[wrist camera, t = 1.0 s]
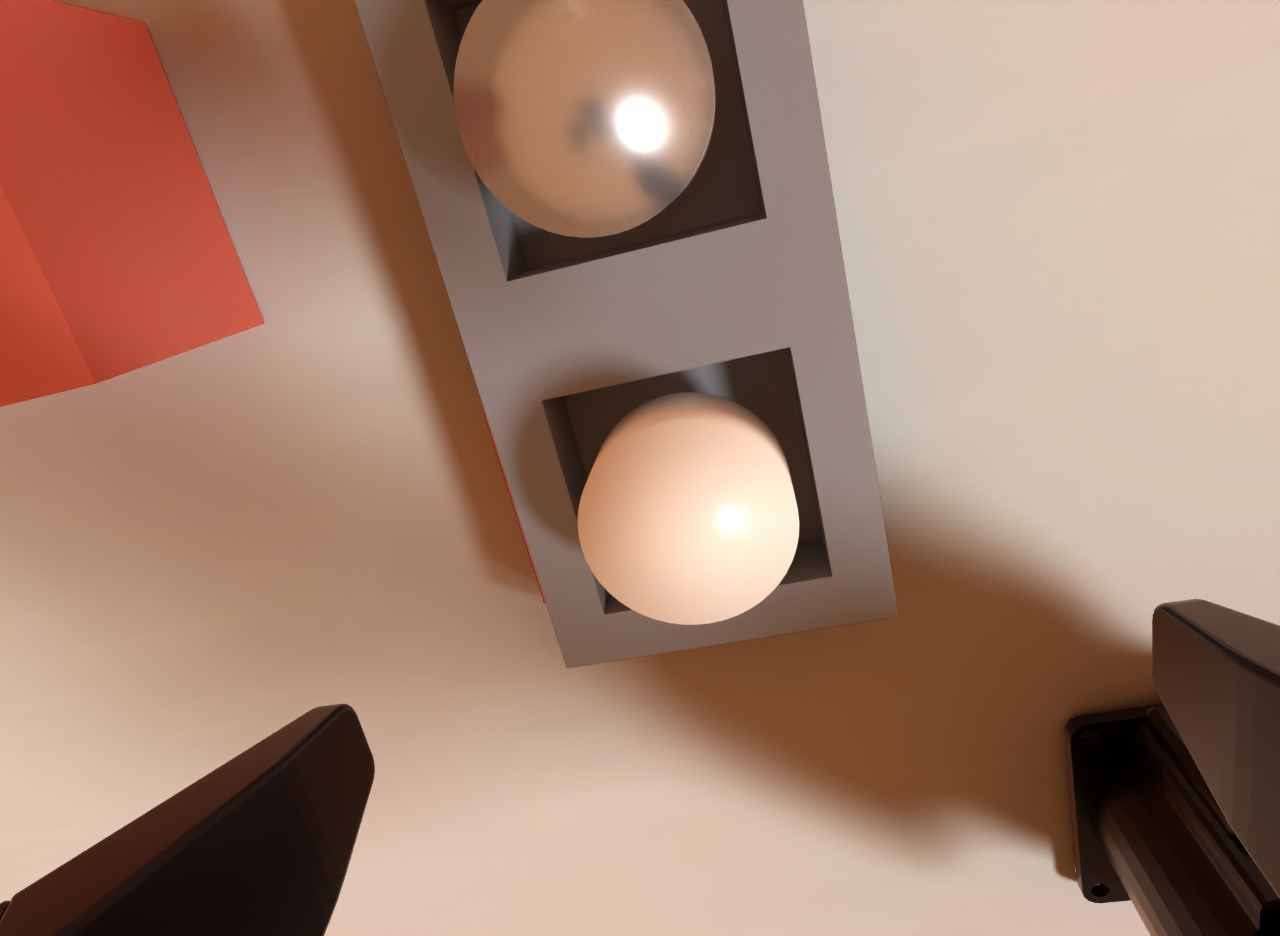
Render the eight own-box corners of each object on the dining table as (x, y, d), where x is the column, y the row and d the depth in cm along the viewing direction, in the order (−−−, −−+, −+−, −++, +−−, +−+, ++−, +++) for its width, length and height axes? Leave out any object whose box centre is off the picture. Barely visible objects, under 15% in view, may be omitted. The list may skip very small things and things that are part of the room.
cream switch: (806, 556, 19) (816, 605, 16) (620, 588, 19) (608, 639, 17) (770, 373, 17) (776, 402, 15) (571, 415, 18) (551, 447, 16)
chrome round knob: (736, 197, 16) (738, 203, 14) (525, 250, 17) (497, 263, 15) (687, -55, 14) (682, -90, 12) (458, 15, 15) (417, -7, 13)
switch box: (875, 556, 21) (898, 616, 19) (575, 607, 23) (555, 669, 20) (761, -148, 16) (769, -212, 13) (382, -26, 18) (318, -62, 15)
